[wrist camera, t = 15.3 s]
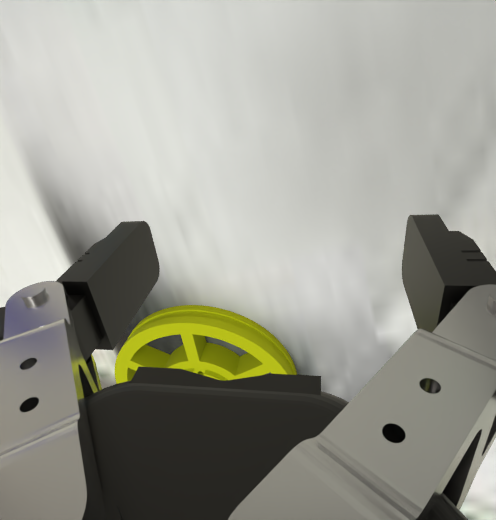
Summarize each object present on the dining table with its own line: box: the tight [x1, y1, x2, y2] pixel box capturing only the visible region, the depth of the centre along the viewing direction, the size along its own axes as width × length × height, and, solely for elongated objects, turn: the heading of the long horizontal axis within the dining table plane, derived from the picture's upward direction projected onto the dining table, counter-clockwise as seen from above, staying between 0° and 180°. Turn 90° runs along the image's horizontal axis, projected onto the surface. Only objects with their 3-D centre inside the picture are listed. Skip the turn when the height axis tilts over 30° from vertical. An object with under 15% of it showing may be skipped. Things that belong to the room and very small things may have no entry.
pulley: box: [115, 305, 297, 384], centre depth 59 cm, size 28×28×5 cm
